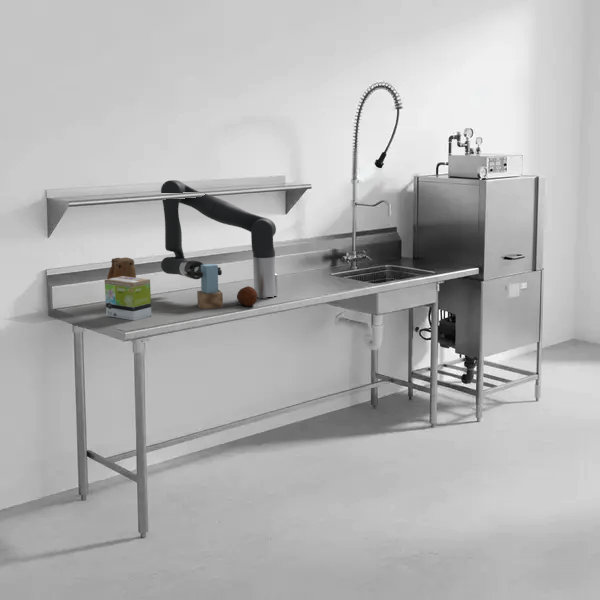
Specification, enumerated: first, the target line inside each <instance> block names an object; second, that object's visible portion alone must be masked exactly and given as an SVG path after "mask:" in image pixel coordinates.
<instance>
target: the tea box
mask: <svg viewBox="0 0 600 600" xmlns="http://www.w3.org/2000/svg"><path fill="white" fill-rule="evenodd" d="M104 291H105V292H104V293H105V309H106V310H105V313H106V317H110V318H117V319H118V318H119V319H124V320H129V321H133V320H135V321H138V320H142V319H146V318H150V317H152V297H151V296H152V295H151V293H152V292H151V279H149V278H148V279H147V278H141V277H136V278H134V277H126V276H120V277H116V278H111V279H107V278H106V279H104Z"/></svg>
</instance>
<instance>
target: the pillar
mask: <svg viewBox="0 0 600 600" xmlns="http://www.w3.org/2000/svg"><path fill="white" fill-rule="evenodd" d="M218 267H219V265H217V264H215V263H206V264H203V265H201V272H203V277H201V278H200V284H201V285H200V287H201V288H200V289H201V290H200V291H201V292H204V293H207V294H208V293H217V292H218V290H219V275H218Z"/></svg>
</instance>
